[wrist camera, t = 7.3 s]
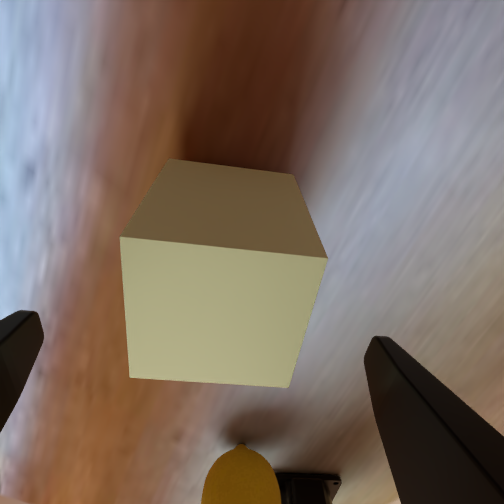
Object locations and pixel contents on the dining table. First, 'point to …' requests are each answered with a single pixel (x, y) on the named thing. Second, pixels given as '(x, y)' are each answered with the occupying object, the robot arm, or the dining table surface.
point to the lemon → (241, 479)
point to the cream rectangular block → (219, 276)
